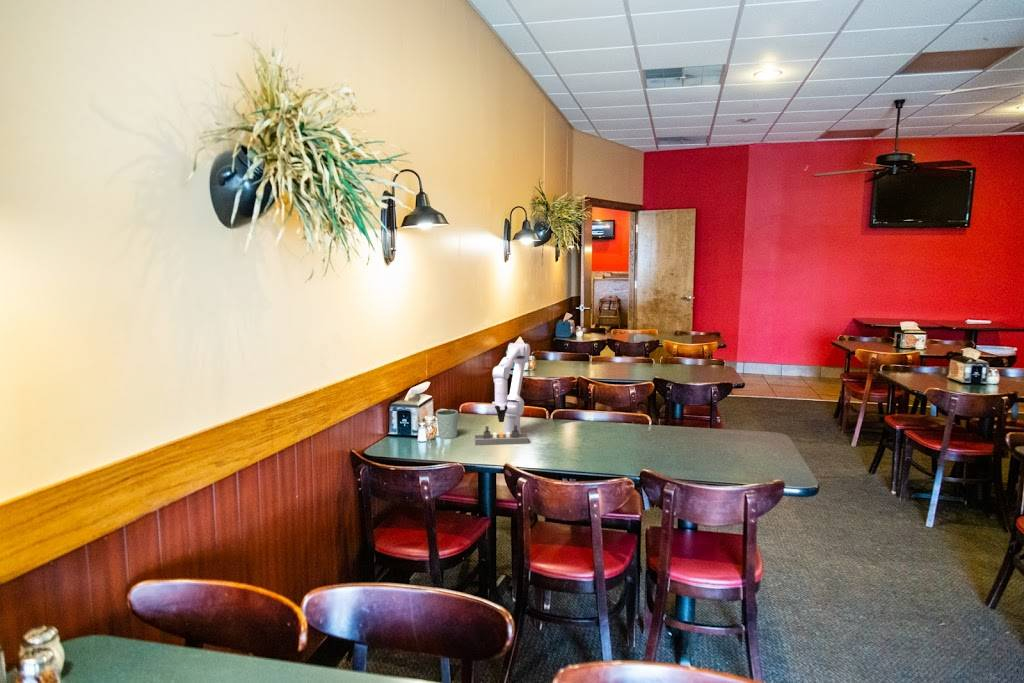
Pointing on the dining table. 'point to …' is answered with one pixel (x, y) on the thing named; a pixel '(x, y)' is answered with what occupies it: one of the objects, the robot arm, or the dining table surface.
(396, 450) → the dining table surface
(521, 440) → the strip
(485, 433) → the cord plug
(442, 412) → the gray cup
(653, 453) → the dining table surface
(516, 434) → the cord plug
